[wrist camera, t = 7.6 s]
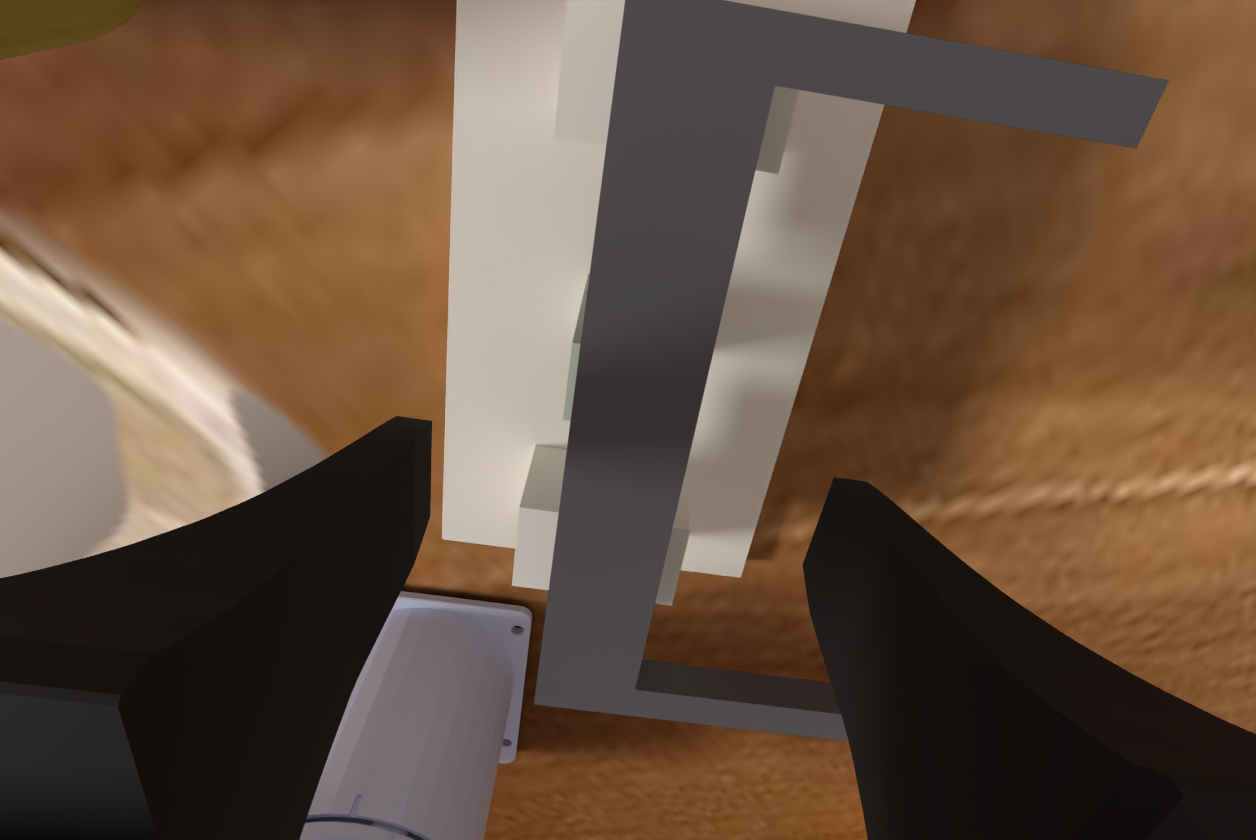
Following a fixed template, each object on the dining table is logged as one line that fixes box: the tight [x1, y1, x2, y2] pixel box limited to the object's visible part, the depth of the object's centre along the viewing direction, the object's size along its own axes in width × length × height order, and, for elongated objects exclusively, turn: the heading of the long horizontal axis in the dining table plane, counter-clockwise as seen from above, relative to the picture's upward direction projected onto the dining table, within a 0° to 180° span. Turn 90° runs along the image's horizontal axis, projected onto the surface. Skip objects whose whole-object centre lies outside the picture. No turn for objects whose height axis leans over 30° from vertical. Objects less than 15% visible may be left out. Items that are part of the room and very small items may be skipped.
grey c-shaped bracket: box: [534, 0, 1168, 741], centre depth 16 cm, size 16×8×4 cm, turn 171°
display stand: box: [442, 0, 916, 606], centre depth 19 cm, size 19×11×6 cm, turn 171°
